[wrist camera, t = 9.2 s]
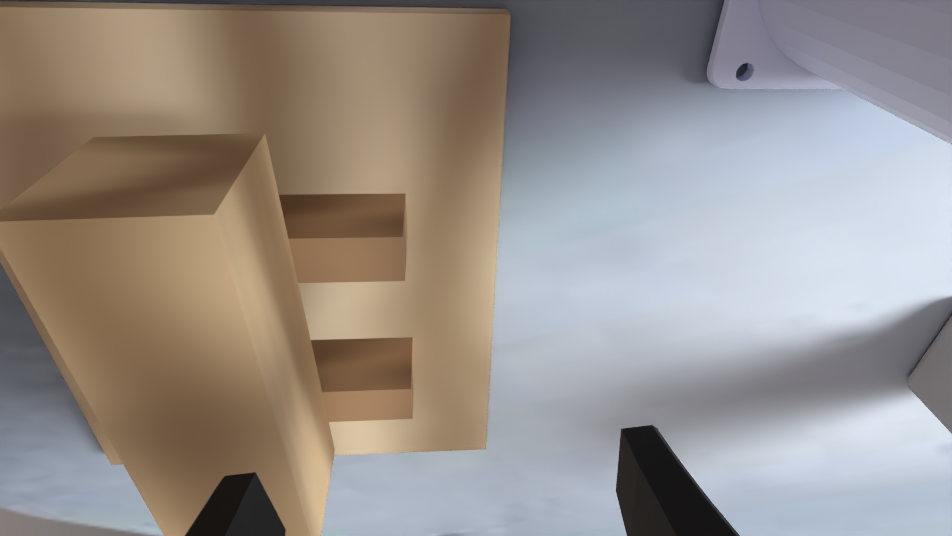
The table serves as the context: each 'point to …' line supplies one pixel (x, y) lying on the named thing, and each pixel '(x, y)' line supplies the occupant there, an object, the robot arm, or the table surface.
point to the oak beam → (180, 317)
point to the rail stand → (309, 174)
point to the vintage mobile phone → (936, 377)
